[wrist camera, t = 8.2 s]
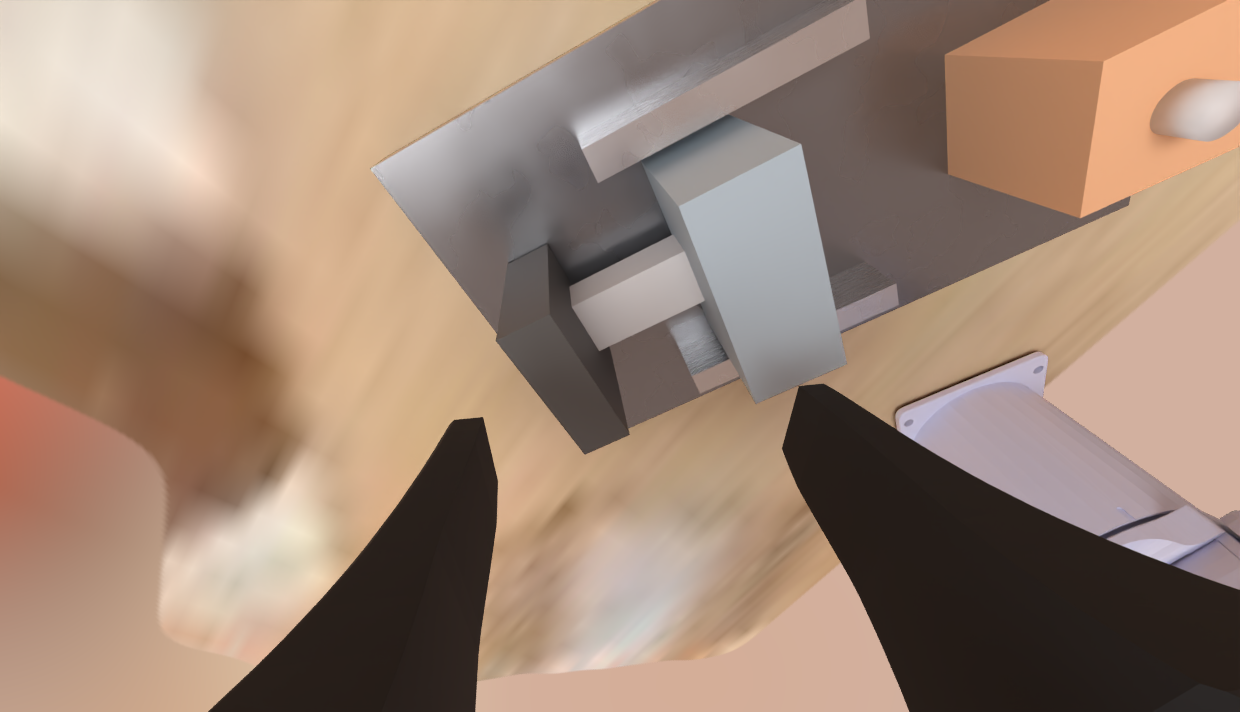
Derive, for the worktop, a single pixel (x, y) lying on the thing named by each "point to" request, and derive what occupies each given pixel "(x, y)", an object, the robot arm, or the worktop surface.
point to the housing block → (1094, 99)
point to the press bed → (691, 99)
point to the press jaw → (686, 282)
